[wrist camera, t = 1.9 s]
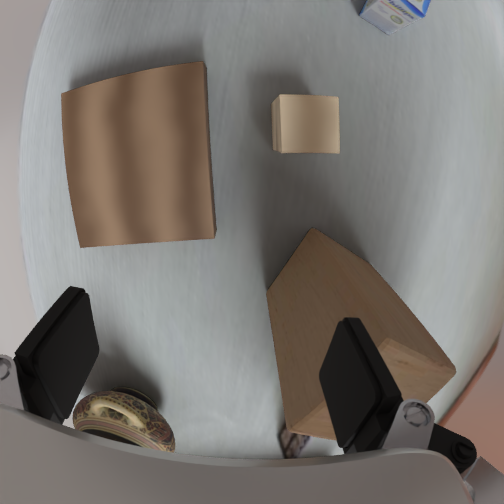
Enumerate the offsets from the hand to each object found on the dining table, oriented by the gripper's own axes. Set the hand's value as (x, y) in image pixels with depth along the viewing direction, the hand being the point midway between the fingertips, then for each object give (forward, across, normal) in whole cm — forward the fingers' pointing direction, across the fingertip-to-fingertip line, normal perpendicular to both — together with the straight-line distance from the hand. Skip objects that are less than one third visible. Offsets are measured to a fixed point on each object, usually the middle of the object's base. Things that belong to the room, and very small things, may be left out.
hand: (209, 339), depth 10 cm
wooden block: (+23, -12, +8) cm, 27 cm away
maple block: (+23, -6, -9) cm, 25 cm away
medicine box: (+23, -15, -28) cm, 39 cm away
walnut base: (+23, +10, -4) cm, 26 cm away
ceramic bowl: (+23, +14, +38) cm, 46 cm away
